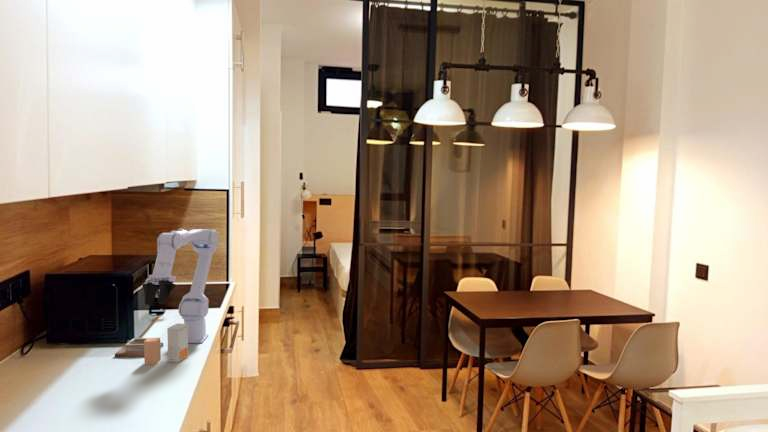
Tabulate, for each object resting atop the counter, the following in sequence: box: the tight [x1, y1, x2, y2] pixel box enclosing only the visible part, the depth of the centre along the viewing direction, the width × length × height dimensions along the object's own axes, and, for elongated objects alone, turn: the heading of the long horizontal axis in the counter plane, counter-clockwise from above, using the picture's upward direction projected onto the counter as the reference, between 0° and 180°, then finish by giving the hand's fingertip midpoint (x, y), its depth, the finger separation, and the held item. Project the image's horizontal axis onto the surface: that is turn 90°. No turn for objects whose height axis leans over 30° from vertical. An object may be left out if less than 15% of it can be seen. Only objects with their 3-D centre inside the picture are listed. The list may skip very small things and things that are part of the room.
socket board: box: [114, 337, 164, 358], centre depth 188 cm, size 11×13×4 cm
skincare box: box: [166, 322, 189, 363], centre depth 180 cm, size 6×4×12 cm
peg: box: [143, 337, 162, 365], centre depth 178 cm, size 4×4×8 cm
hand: (154, 304), depth 173 cm, fingers open, 7 cm apart
